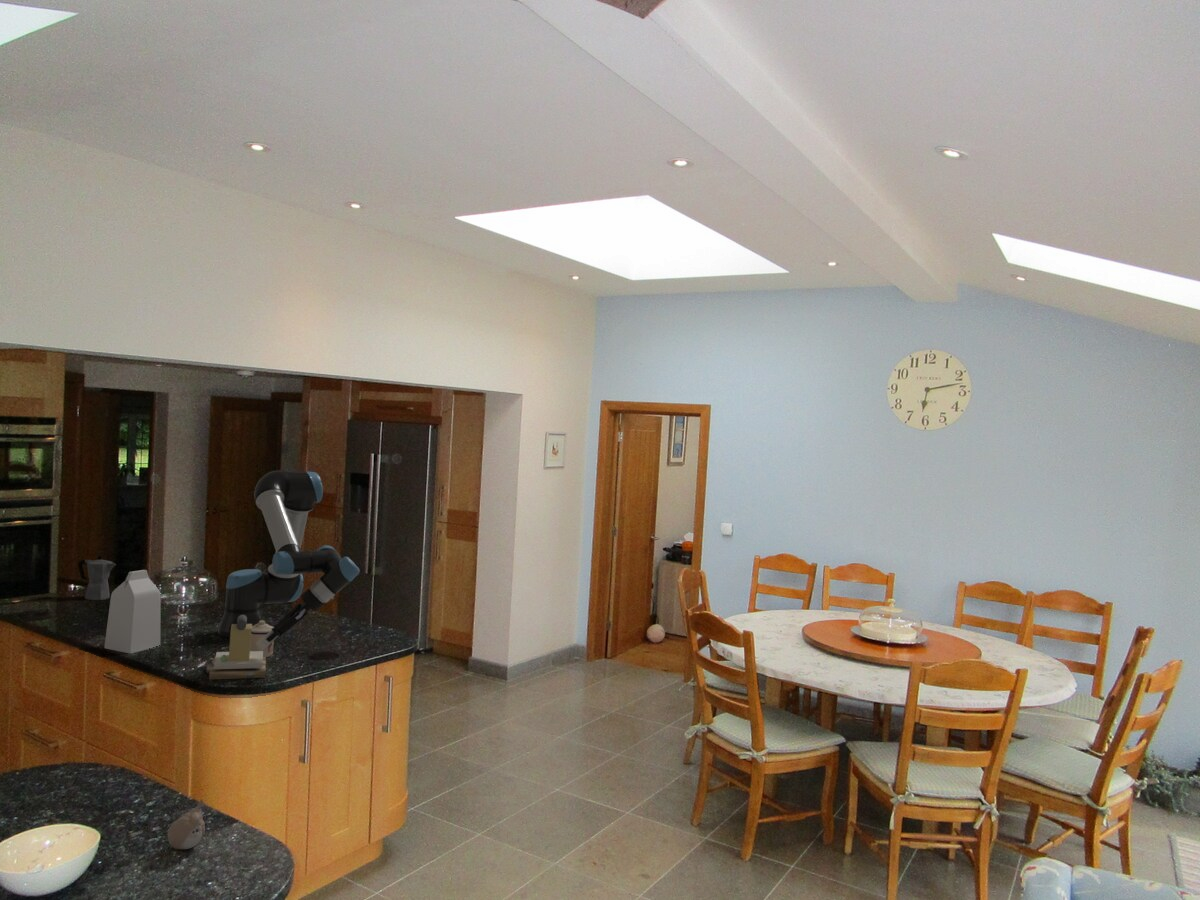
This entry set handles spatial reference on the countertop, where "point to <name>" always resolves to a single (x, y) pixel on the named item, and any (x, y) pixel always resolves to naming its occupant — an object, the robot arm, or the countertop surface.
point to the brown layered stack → (236, 672)
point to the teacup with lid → (258, 634)
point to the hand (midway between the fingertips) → (259, 647)
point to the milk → (134, 615)
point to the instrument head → (239, 649)
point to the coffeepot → (97, 578)
